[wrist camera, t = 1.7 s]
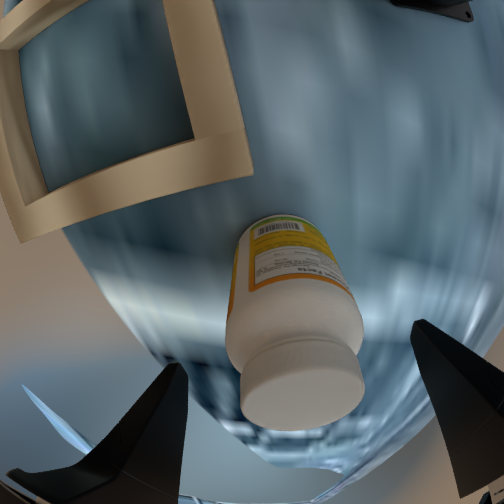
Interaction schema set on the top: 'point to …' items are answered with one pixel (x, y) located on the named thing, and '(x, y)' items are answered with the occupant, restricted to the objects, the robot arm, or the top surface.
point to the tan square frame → (137, 168)
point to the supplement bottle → (292, 327)
